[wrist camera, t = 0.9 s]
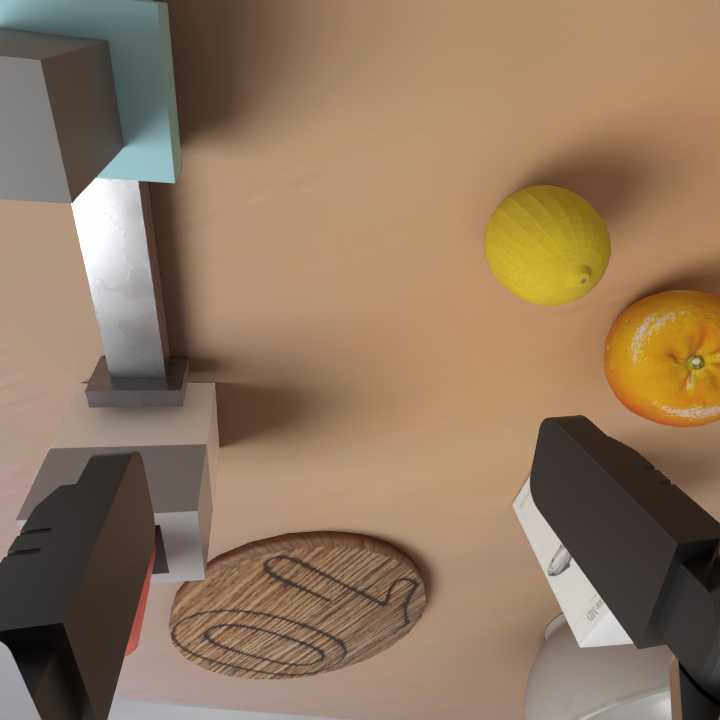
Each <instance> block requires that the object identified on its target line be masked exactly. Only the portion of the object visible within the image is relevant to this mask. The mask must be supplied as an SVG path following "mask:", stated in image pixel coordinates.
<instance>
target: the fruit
mask: <svg viewBox="0 0 720 720" xmlns="http://www.w3.org/2000/svg"><path fill="white" fill-rule="evenodd" d="M604 371H605V375H606V377H607V380H608V382H609V384H610V387H611V388H612V390H613V392H614V394H615V395H616V397H617V398H618V399H619V401H620V402H621V403H622V404H623V405H624V406H625V407H626V408H628V409H629V410H630V411H631V412H633V413H635V414H637V415H639V416H641V417H643V418H646V419H648V420H651V421H654V422H656V423H660V424H663V425H669V426H674V427H694V426H700V425H706V424H709V423H712V422H715V421H717V420H719V419H720V296H717V295H714V294H711V293H707V292H702V291H694V290H671V291H666V292H661V293H658V294H654V295H651V296H648V297H645V298H643V299H641V300H639V301H637V302H635V303H634V304H632V305H631V306H629V307H628V308H627V309H626V310H625V311H624V312H623V313H622V314H621V315H620V316H619V317H618V319H617V320H616V321H615V323H614V324H613V326H612V327H611V329H610V331H609V333H608V336H607V339H606V342H605V350H604Z"/></svg>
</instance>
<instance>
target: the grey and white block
mask: <svg viewBox="0 0 720 720" xmlns="http://www.w3.org/2000/svg"><path fill="white" fill-rule="evenodd" d="M87 385H88V383H80V385H79V387H78V389H77V391H76V393H75V395H74V397H73V399H72V401H71V403H70V406H69V408H68V410H67V412H66V414H65V416H64V418H63V420H62V422H61V424H60V427H59V429H58V431H57V433H56V435H55V437H54V439H53V441H52V443H51V445H50V447H49V452H48V454H47V456H46V458H45V460H44V462H43V464H42V466H41V469H40V471H39V473H38V475H37V477H36V479H35V481H34V483H33V485H32V487H31V490H30V492H29V494H28V496H27V498H26V500H25V502H24V504H23V506H22V508H21V511H20V513H19V515H18V517H17V519H16V522H17V524H18V527H19V529H20V531H21V529H22V527H23V526H24V524H25V523H26V521H27V519H28V518H29V516H30V514H31V513H32V511H33V510H34V508H35V507H36V506H37V505H38V504H39V503H40V502H41V501H43V500H44V499H45V498H46V497H47V496H49V495H50V494H51V493H52V492H53V491H54V490H56V489H57V488H58V487H59V486H60V485H70V484H76V483H77V481H78V479H79V478H80V476H81V474H82V472H83V470H84V468H85V466H86V465H87V463H88V461H89V459H90V458H91V456H92V455H94V454H104V453H116V452H128V451H138V452H139V453H140V454H141V456H142V459H143V464H144V468H145V473H146V478H147V483H148V488H149V493H150V498H151V503H152V507H153V512H154V518H155V525H160V527H161V530H160V535H159V540H158V545H157V550H156V556H155V561H154V566H153V571H152V576H151V581H150V584H155V583H168V582H181V581H194V580H205V577H206V567H207V558H208V548H209V538H210V529H211V519H212V512H213V507H214V498H215V488H216V478H217V468H218V458H219V434H218V419H217V404H216V390H215V383H188V384H187V389H186V394H185V399H184V404H183V406H175V407H99V408H89V405H88V401H87V397H86V393H85V390H86V388H87Z"/></svg>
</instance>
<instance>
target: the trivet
mask: <svg viewBox="0 0 720 720" xmlns="http://www.w3.org/2000/svg"><path fill="white" fill-rule="evenodd" d="M425 604H426V595H425V589H424V583H423V580H422V576H421V572H420V570H419V568H418V567H417V566H416V564H415V563H414V562H413V560H412V559H411V558H410V556H409V555H408V554H406V553H404V552H403V551H401V550H400V549H398V548H396V547H395V546H393V545H392V544H390V543H388V542H385V541H382V540H378V539H375V538H372V537H368V536H365V535H362V534H354V533H344V532H333V531H315V532H301V533H288V534H283V535H279V536H275V537H270V538H266V539H262V540H257V541H253V542H250V543H247V544H245V545H242V546H240V547H238V548H235V549H233V550H230V551H228V552H226V553H223V554H221V555H218V556H217V557H215V558H214V559H212V560H211V561H209V562H208V563H207V567H206V577H205V580H194V581H185V583H184V584H183V585H182V586H181V587H180V589H179V590H178V591H177V593H176V596H175V600H174V603H173V606H172V610H171V616H170V622H169V630H170V635H171V639H172V643H173V645H174V646H175V647H176V648H177V649H178V651H179V652H180V653H181V654H182V655H183V656H184V657H185V658H186V659H188V660H189V661H191V662H193V663H195V664H197V665H198V666H200V667H202V668H204V669H207V670H210V671H213V672H217V673H220V674H224V675H227V676H233V677H241V678H250V679H289V678H297V677H305V676H313V675H317V674H322V673H326V672H330V671H334V670H338V669H342V668H345V667H348V666H350V665H353V664H356V663H358V662H361V661H364V660H367V659H369V658H371V657H373V656H374V655H376V654H378V653H380V652H382V651H384V650H386V649H388V648H390V647H391V646H392V645H394V644H395V643H396V642H397V641H399V640H400V639H401V638H403V637H404V636H405V635H407V634H408V633H409V632H410V630H411V629H412V628H413V627H414V625H415V624H416V623H417V622H418V620H419V619H420V618H421V616H422V613H423V610H424V607H425Z"/></svg>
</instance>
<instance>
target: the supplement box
mask: <svg viewBox="0 0 720 720" xmlns="http://www.w3.org/2000/svg"><path fill="white" fill-rule="evenodd" d="M513 508H514V510H515V512H516V514H517V516H518V518H519V520H520V523H521V525H522V527H523V529H524V531H525V533H526V535H527V537H528V539H529V542H530V544H531V546H532V548H533V550H534V552H535V554H536V556H537V558H538V561H539V563H540V565H541V567H542V569H543V571H544V573H545V575H546V577H547V579H548V582H549V584H550V586H551V588H552V590H553V592H554V594H555V596H556V598H557V600H558V602H559V605H560V607H561V609H562V611H563V613H564V615H565V617H566V619H567V621H568V624H569V626H570V628H571V630H572V632H573V634H574V636H575V638H576V640H577V642H578V645H579V647H580V648H583V647H598V646H610V645H622V644H632V643H633V641H632V640H631V639H630V637H629V636H628V635H627V633H626V632H625V630H624V629H623V628H622V626H621V625H620V623H619V622H618V621H617V619H616V618H615V616H614V615H613V614H612V612H611V611H610V609H609V608H608V607H607V605H606V604H605V602H604V601H603V600H602V598H601V597H600V595H599V594H598V593H597V591H596V590H595V589H594V587H593V586H592V584H591V583H590V582H589V580H588V579H587V577H586V576H585V575H584V573H583V572H582V570H581V569H580V568H579V566H578V565H577V563H576V562H575V561H574V559H573V558H572V556H571V555H570V554H569V552H568V551H567V549H566V548H565V547H564V545H563V544H562V542H561V541H560V540H559V538H558V537H557V536H556V534H555V533H554V531H553V530H552V529H551V527H550V526H549V524H548V523H547V522H546V520H545V519H544V517H543V516H542V515H541V513H540V512H539V510H538V509H537V507H536V506H535V504H534V501H533V499H532V495H531V491H530V476H529V478H528V480H527V481H526V483H525V485H524V486H523V488H522V490H521V491H520V493H519V495H518V496H517V498H516V499H515V501H514V502H513Z"/></svg>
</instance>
